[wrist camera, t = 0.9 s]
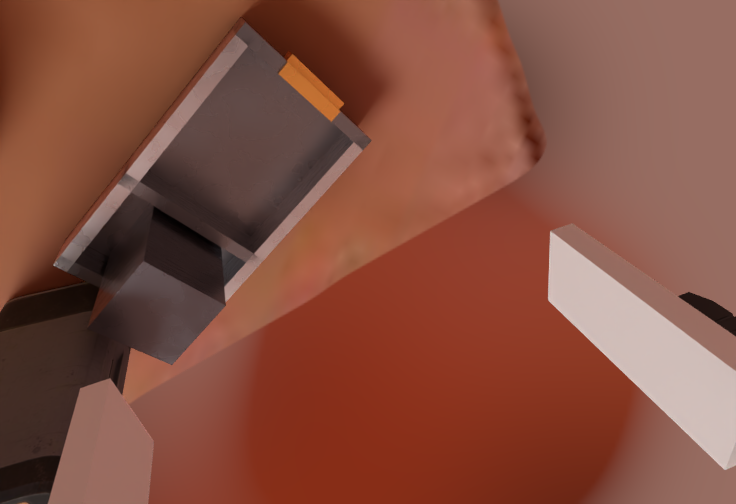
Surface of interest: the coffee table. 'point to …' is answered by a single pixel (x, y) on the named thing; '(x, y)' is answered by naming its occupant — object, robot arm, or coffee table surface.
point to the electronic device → (47, 383)
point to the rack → (209, 194)
